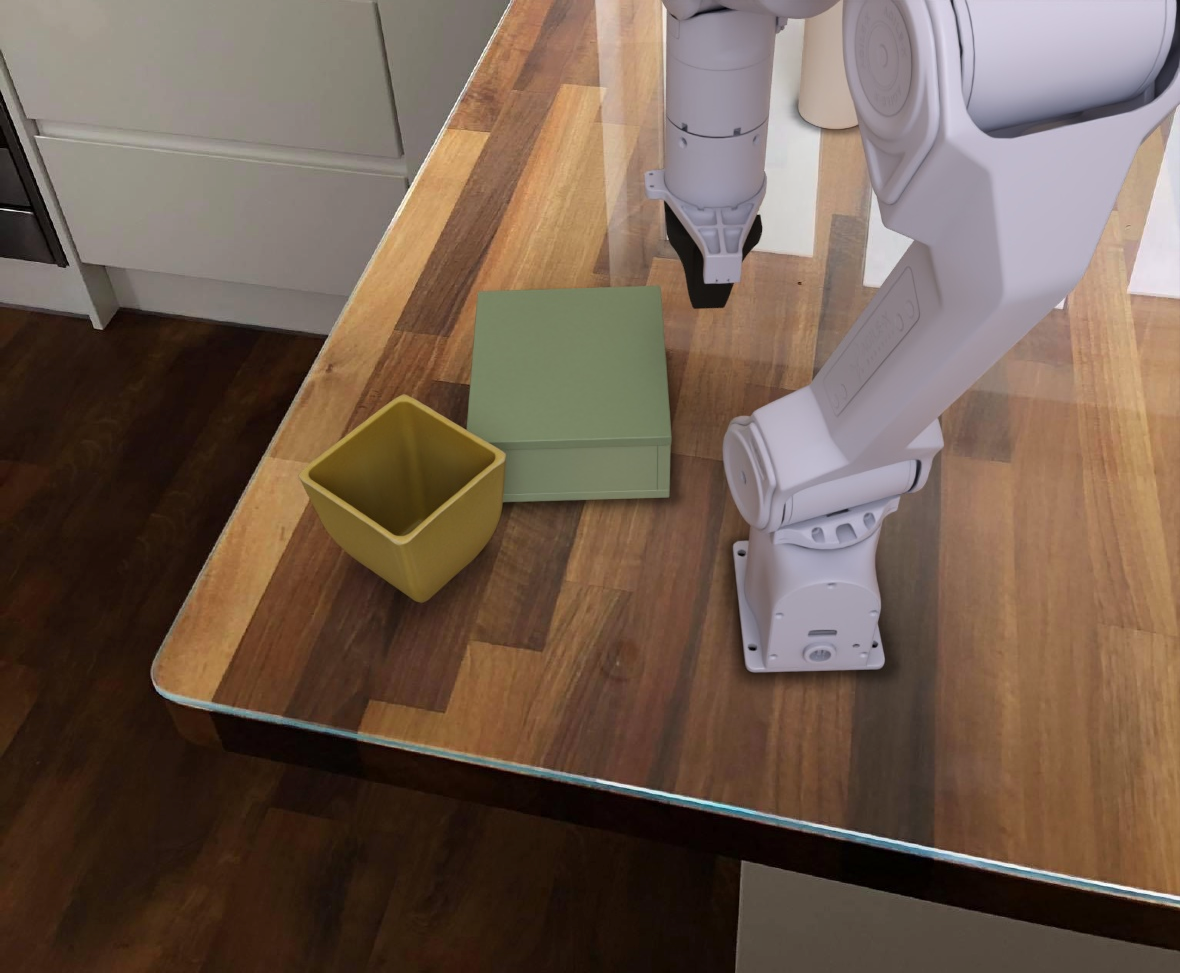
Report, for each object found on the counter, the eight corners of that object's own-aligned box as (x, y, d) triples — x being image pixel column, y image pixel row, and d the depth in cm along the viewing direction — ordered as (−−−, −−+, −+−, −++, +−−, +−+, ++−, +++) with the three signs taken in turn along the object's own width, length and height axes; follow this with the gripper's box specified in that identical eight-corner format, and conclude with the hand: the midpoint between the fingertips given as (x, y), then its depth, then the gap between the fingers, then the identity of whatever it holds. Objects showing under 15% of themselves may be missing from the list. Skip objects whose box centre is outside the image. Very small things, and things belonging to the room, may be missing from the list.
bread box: (669, 497, 80) (670, 436, 75) (476, 503, 80) (467, 442, 76) (660, 356, 89) (660, 294, 84) (487, 362, 89) (478, 300, 85)
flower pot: (423, 487, 81) (402, 389, 74) (521, 550, 77) (509, 452, 71) (324, 570, 77) (293, 474, 70) (424, 641, 73) (401, 547, 66)
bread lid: (671, 445, 75) (671, 436, 74) (466, 451, 75) (465, 442, 75) (660, 294, 84) (660, 284, 84) (478, 299, 85) (477, 290, 84)
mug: (857, 138, 106) (876, 6, 98) (784, 121, 109) (796, -9, 100) (892, 82, 112) (913, -47, 103) (822, 67, 114) (837, -61, 106)
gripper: (639, 45, 72) (640, 233, 82) (649, 189, 63) (649, 382, 73) (759, 41, 72) (745, 230, 82) (787, 184, 62) (768, 378, 73)
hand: (708, 301), depth 78 cm, fingers closed
